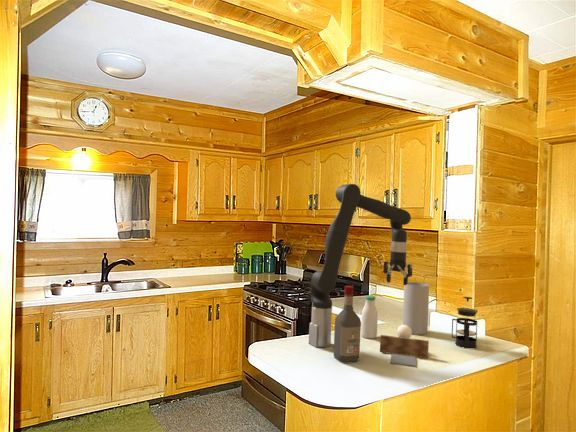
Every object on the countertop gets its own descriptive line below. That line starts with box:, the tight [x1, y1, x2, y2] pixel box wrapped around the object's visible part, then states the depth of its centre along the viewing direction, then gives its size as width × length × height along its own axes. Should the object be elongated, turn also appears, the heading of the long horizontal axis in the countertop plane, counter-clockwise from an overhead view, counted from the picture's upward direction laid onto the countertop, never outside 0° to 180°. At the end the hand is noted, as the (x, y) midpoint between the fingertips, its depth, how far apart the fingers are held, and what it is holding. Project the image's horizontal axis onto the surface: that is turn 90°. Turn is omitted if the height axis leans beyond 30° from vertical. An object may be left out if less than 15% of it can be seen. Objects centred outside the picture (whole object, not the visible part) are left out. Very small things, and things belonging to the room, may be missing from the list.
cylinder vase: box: [402, 281, 430, 336], centre depth 210 cm, size 12×12×25 cm
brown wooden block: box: [379, 334, 429, 360], centre depth 174 cm, size 20×5×7 cm, turn 73°
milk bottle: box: [360, 295, 378, 340], centre depth 198 cm, size 8×8×20 cm
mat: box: [389, 353, 417, 368], centre depth 166 cm, size 10×10×1 cm
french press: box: [451, 296, 478, 349], centre depth 190 cm, size 12×9×23 cm
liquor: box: [333, 285, 361, 364], centre depth 166 cm, size 9×9×30 cm
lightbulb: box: [396, 324, 413, 338], centre depth 181 cm, size 6×6×11 cm
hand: (396, 283), depth 198 cm, fingers open, 8 cm apart
